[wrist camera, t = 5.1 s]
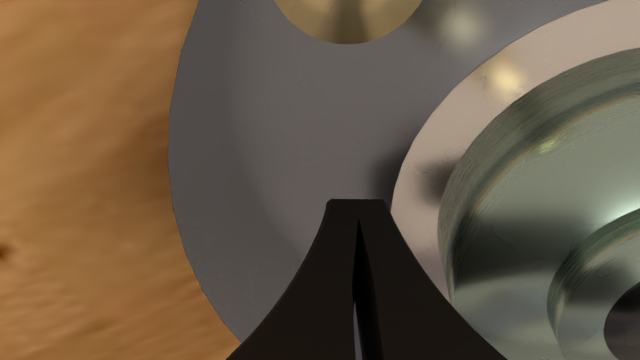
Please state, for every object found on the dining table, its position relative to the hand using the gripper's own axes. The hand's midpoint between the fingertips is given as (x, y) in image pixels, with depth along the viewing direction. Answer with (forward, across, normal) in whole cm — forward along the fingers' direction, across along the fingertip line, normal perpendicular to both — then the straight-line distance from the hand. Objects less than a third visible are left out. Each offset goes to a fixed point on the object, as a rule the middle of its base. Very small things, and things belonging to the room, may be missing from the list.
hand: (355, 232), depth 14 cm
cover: (+1, -7, 0) cm, 7 cm away
